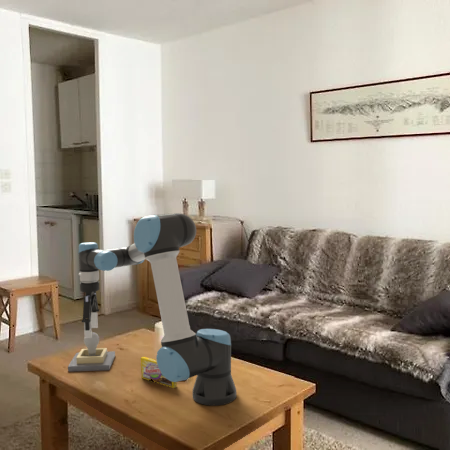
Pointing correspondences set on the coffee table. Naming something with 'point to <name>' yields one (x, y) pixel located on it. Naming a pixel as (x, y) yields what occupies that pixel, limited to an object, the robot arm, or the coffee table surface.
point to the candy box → (154, 372)
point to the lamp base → (92, 360)
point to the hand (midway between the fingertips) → (91, 332)
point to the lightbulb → (92, 343)
